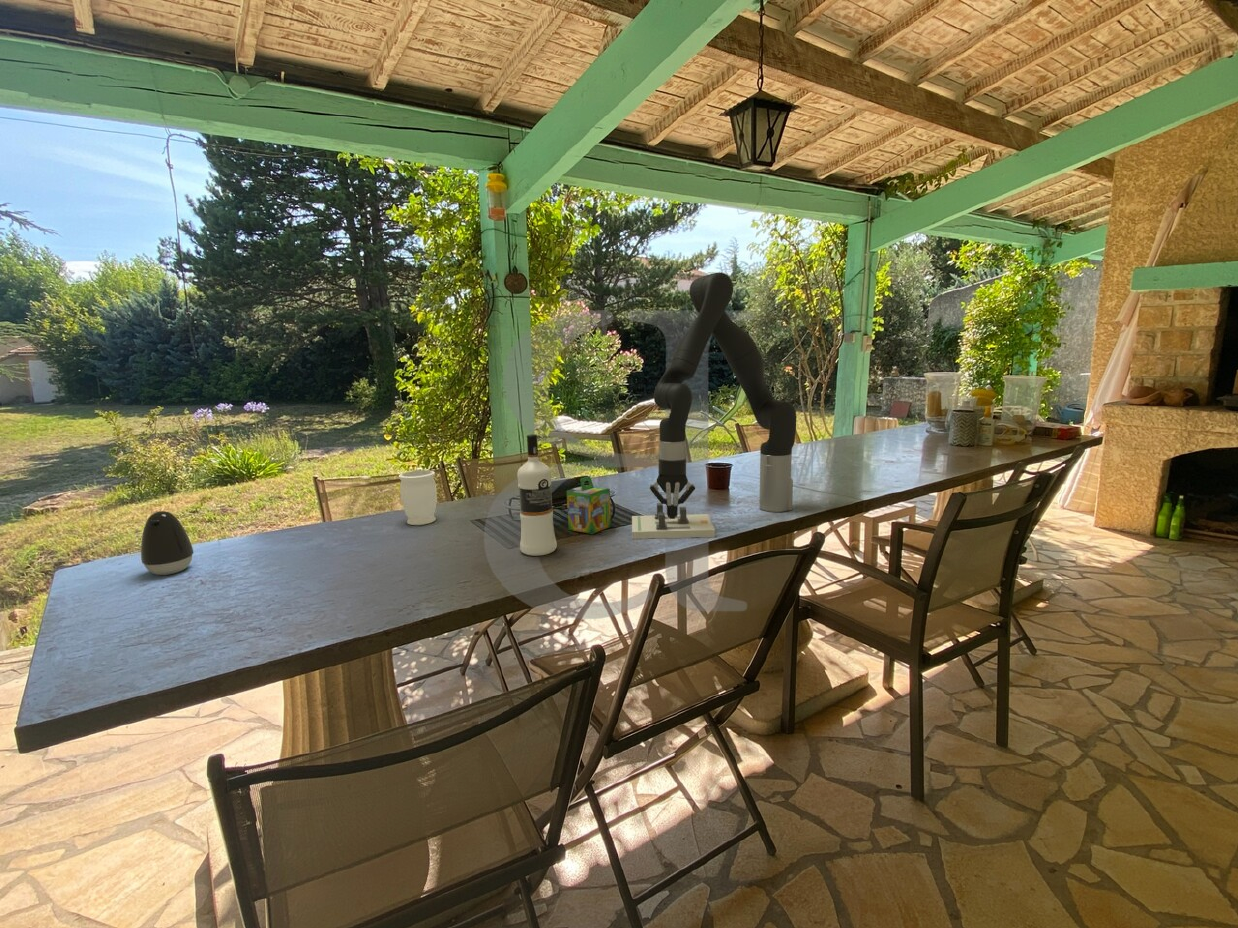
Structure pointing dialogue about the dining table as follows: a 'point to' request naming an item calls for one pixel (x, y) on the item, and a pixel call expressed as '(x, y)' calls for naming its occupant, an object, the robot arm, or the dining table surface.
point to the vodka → (535, 504)
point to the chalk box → (588, 508)
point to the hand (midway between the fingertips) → (672, 518)
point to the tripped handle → (683, 516)
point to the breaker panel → (672, 527)
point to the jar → (418, 496)
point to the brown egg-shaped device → (165, 544)
